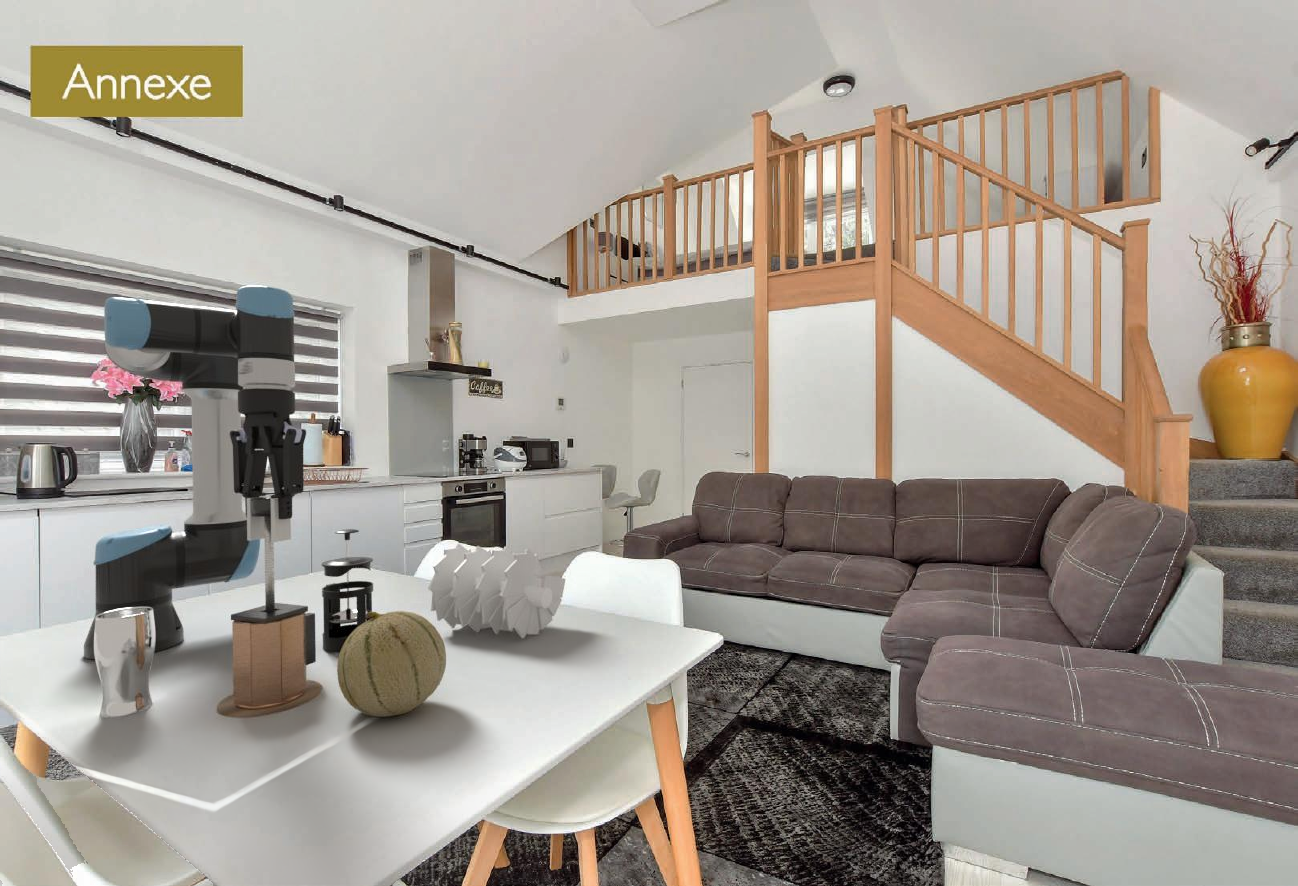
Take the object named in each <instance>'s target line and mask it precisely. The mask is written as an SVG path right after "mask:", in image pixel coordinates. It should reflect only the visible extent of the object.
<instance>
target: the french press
mask: <svg viewBox="0 0 1298 886" xmlns="http://www.w3.org/2000/svg"><path fill="white" fill-rule="evenodd" d="M359 532H360V530H358V529H354V528H347V529H341V530H337V531H335V533H334V534H338V535H343V534H344V541H345V543H346V544H345V545H346V546H345V547H346V550H345V551H346V557H342V558H334V559H329V560H326V561H322V563H321V566H322V567H323V571H324V576H326V577H331V578H332V577H333V578H334V577H335V578H337V577H342V576H344V575H346V581H343V582H338V583H335V582H334V583H329V584H326V585H325V586H324V587H322V588H321V597H322V599H323V602H322V604H323V633H322V649H323V650H322V651H324V652H327V653H331V654H332V653H335V654H340V652H341V649H342V647H343V645H344V643H345V641H346V640H347V638H348V637H349V635H350V634H351V633H352V632H353V631H354V630H355V629H356V628H357V627H358V626H360V625H361V624H363V623H365V622H366V621H368V620H370V619H372V617H371V618H367V615H368V613H369V612H373V600H372V599H373V598H372V597H373V596H372V593H373V592H374V582H372V581H367V580H356V581H355V580H354V581H350V571H351V570H352V569H365V570H368V571H371V569H372V568H371V563H373V561H374V559H373V558H372V557H367V556H350V555H349V553H350V551H349V541H350V540H351V534H355V533H359ZM355 588H356V589H355ZM357 588H358V589H357ZM350 589H351V590H350ZM352 589H353V590H352ZM341 590H343V591H341ZM345 590H346V591H345ZM351 598H352V599H353V598H356V608H355V609H354V608H350V599H351ZM343 599H346V602H347V603H346V604H347V605H346V607H347V608H346V609H344V610H341V600H343ZM353 623H354V624H353Z"/></svg>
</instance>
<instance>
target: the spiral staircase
mask: <svg viewBox="0 0 1298 886" xmlns="http://www.w3.org/2000/svg"><path fill="white" fill-rule="evenodd" d="M432 568H433V570H434V575H433V576H432V578H431V581H430V583H429V585H428V590H429V591H430V592H431V593H432V595H431V609H430V611H431V612H434V611H435V614H436V618H437V619H436V620H437V621H439V622H440V621H442V620H443V621H445V622H446V623H447V624H448V626H450V628H451V629H455V627H456V626H457V625H460V626H461V627H463V628H464V627H465V626H467V625H468V626H469V628H471V629H472V630H473V631H474V632H475V633H479V632H480V630H481V629H487V628H488V629H489V628H491V629H492V630H493V632H494V634H496V635H498V634H499V632H500V631H506V632H511V633H512V632H514V630H515V631H516V633H517V634H518V635H519V637H520V638H521V639H523V640H524V639H525V638H526V635H539V634H540V630H541V631H542V630H544V629H545V628H546V627H547V626H548V625H549V624H550V623H551V622H553V617H555V615H556V613H557V611H558V609H559V607H560V605H561V603H562V601H563V599H562V598H563V595H564V590H565V584H566V578H563V577H558V576H553V575H547V574H544V575H543V578H540V577H538V576H537V575H538V574H539V573H540V572H541V570H542V568H541V564H540V561H539V556H538V553H533V552H532V551H531V550H530V549H529V548H525V549H524V553H523V552H522V553H513V552H512V551H511V550H510V548H508V546H504V547H503V548H502V550H492V551H491V549H489V548H488V549H486V550H485V549H484V548H483V547H481V546H480V545H476V548H475V550H473V551H472V550H471V548H469V547H468V548H465V546H463V545H462V544H461V543H457V544H456V547H455V548H447V549H443V556H442V557H441V558H440V559H439V560H438V561H437V562H436V563H434V564H433V566H432Z"/></svg>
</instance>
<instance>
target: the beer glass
mask: <svg viewBox="0 0 1298 886" xmlns="http://www.w3.org/2000/svg"><path fill="white" fill-rule="evenodd" d="M94 617H95V616H94ZM95 618H96V620H95V631H94V656H95V660H94V661H95V665H96V669H97V674H98V676H99V681H100V685H101V691H102V692H101V693H102V701H101V707H100V712H99V717H100V718H102V719H116V718H117V719H118V718H122V717H126V716H127V717H128V716H131V715H134V714H138V713H141V712H143V711H145V710H147V709H150V708H151V707H152V705H153V704H154V703H153V701H152V700H153V699H152V696H151V695H152V694H151V692H150V677H151V671H152V666H153V661H154V656H155V652H154V650H155V638H156V634H155V621H154V614H153V608H152V607H130V608H122V609H117V610H112V611H108V612H104V613H101V614H99V615H97V616H96V617H95Z"/></svg>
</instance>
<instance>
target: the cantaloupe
mask: <svg viewBox="0 0 1298 886" xmlns="http://www.w3.org/2000/svg"><path fill="white" fill-rule="evenodd" d="M371 617H372V619H370V620H368V621H366V622H365V623H363V624H361V625H360V626H358V627H357V628H356V629H355V630H354V631H353V632H352V633H351V634H350V635H349V637H348V638H347V640H346V641H345V643H344V645H343V647H342V649H341V652H340V653H338V654H339V655H338V659H337V666H336V668H337V669H336V670H337V671H336V673H337V674H336V675H337V681H338V686H339V689H340V692H341V693H342V696H343V697H344V699H345V700H346V701H347V702H348V704H349V705H351V707H353V708H354V709H355V710H357V711H358V712H360V714H361V713H362V714H364V715H366V716H371V717H381V718H382V717H393V716H399V715H404V714H407V713H409V712H411V711H413V710H414V709H416V708H417V707H418V706H419V705H421V704H423V703H424V702H425V701H426V700H427V699H428V698H429V697H430V696H432V695H433V693H435V691H436V690H437V688H438V687H439V685H440V684H441V682H442V680H443V677H444V674H445V671H446V668H447V667H446V666H447V652H446V646H445V643H444V639H443V638H442V636H441V634H440V633H439V631H438V630H437V628H436V626H434V625H433V623H431V621H429V620H428V619H426V618H425V617H424V616H422V615H420V614H417V613H414V612H410V611H404V610H403V611H402V610H398V611H388V612H386V613H378V612H376V611H372V612H369V613H368V615H367V618H371Z"/></svg>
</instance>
